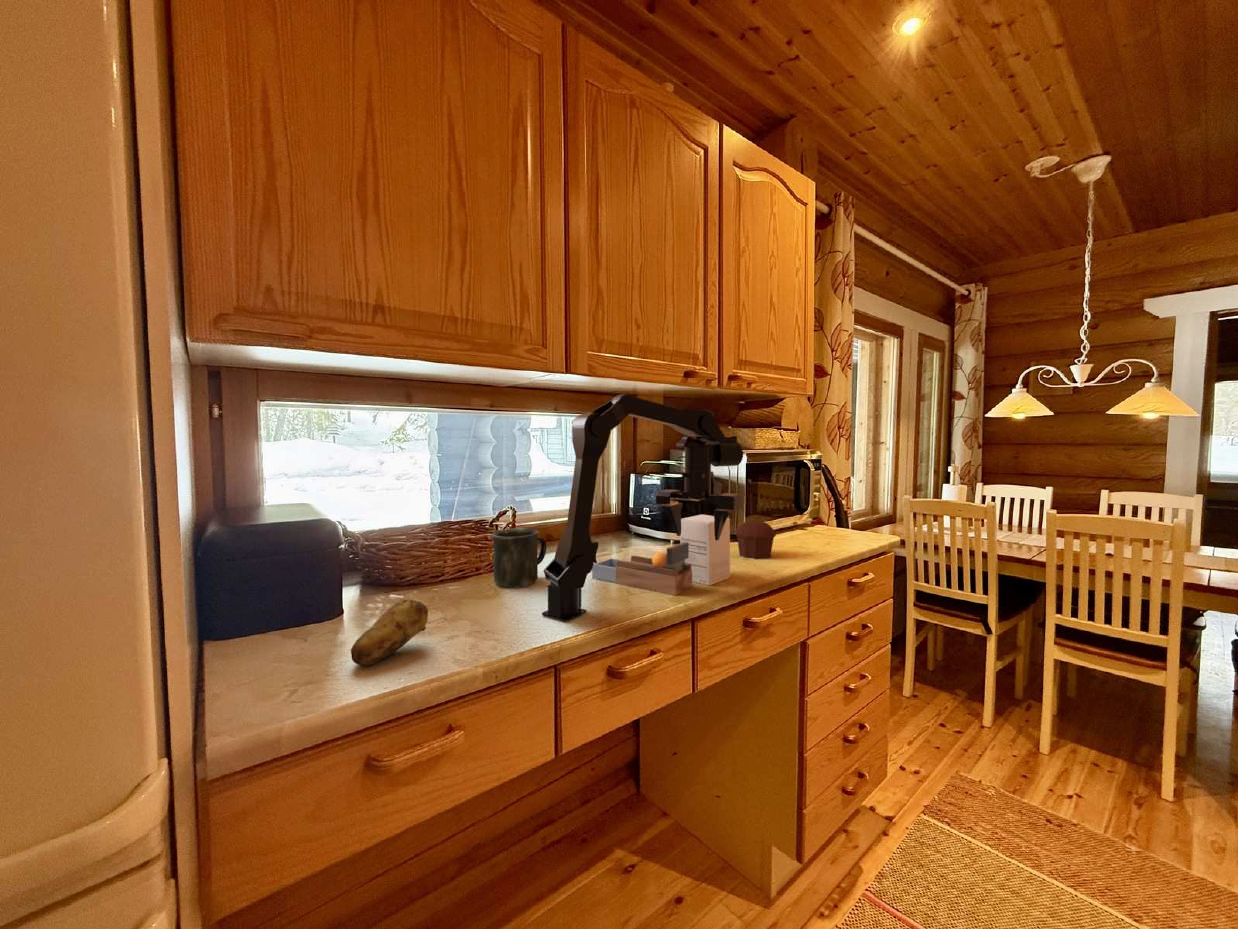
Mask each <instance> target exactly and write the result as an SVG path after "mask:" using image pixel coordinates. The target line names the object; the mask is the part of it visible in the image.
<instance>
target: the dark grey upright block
mask: <svg viewBox="0 0 1238 929" xmlns="http://www.w3.org/2000/svg"><path fill="white" fill-rule="evenodd" d="M666 554H667V562H666V569H671V570H677V571H678V573H679V572H681V571H683V570H685V559H687V558H688V555H689V543H688V542H683V543H678V544H675V545H672V546H670V547H667V548H666Z"/></svg>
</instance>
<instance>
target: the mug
mask: <svg viewBox="0 0 1238 929" xmlns="http://www.w3.org/2000/svg"><path fill="white" fill-rule="evenodd" d="M539 534H540V531H539V530H537V529H533V528H522V527H521V528H517V527H516V528H506V529H499V530H496V531H494V532H492V533H491V534H490V536H491V537H492V538H493V539H492V541H493V542H492V543H493V544H492V547H493V551H492V552H493V582H494V583H495V585H496V586H498V587H500V588H501V587H502V588H521V587H527V586H530V585H533V584H535V583H537V580H538V576H539V575H538V574H539V573H538V571H539V570H538V568H539V567H538V566H539V565H540V564H541V563H542V562H543V561H544V559H545V556H546V553H547V541H546V540H545V538H544V537H542V536H541V537H540V536H538V535H539ZM538 541H539V542H540V549H539V554H538Z"/></svg>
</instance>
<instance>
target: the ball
mask: <svg viewBox="0 0 1238 929" xmlns="http://www.w3.org/2000/svg"><path fill="white" fill-rule="evenodd" d="M666 562H667V553H665V552H664V551H660V552H656V553H655V554H654V555H653V556H652V563H653V565H654V567H660V568H666Z"/></svg>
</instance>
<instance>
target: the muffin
mask: <svg viewBox="0 0 1238 929" xmlns="http://www.w3.org/2000/svg"><path fill="white" fill-rule="evenodd" d="M734 533H735V535H736V538H737V545H738V552H739V556H740V557H742V556H743V558H746V559H751V558H753V559H752V560H765V558H766V559H769V558H771V555H772V550H773V544H774V538H775V537H776V536H777V534H776V531H775V530H774V528H773V527H772V526H771V525H770V524H769V523H767V522H765V521H763V520H756V519H755V520H754V519H753V520H751V519H750V520H746V521H744V522H742V523H741V524H739V525H738V526H737V528H736V530H735V531H734Z"/></svg>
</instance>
